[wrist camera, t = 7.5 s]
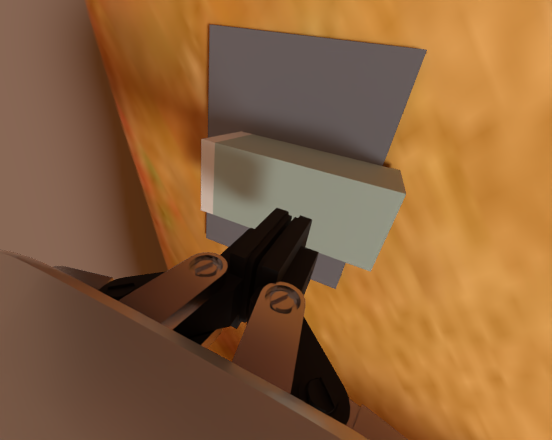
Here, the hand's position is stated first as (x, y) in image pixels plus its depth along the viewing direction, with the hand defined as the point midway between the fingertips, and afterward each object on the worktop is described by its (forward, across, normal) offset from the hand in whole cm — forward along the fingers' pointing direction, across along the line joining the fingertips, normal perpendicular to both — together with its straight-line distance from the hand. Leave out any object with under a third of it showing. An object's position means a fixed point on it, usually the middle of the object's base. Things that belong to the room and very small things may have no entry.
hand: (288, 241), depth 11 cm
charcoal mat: (+9, +4, 0) cm, 10 cm away
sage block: (+6, -4, 0) cm, 8 cm away
